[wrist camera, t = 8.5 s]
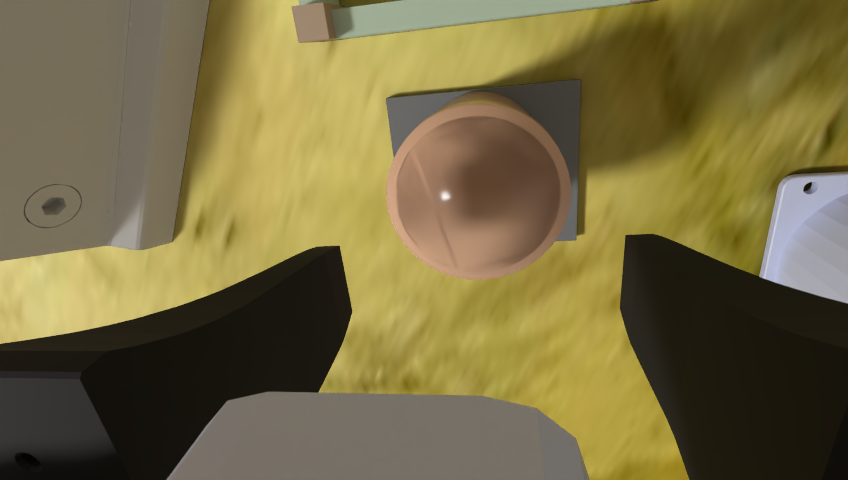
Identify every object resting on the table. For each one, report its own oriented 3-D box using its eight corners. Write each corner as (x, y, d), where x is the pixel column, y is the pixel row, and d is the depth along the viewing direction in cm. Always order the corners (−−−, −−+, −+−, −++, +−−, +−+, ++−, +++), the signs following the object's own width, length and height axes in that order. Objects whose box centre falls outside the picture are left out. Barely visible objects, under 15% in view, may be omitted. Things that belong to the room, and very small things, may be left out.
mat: (579, 79, 18) (581, 79, 18) (574, 236, 21) (576, 240, 21) (387, 97, 20) (386, 98, 19) (407, 243, 23) (405, 246, 22)
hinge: (171, 248, 25) (-90, 323, 16) (116, 205, 26) (-152, 254, 17) (226, -106, 18) (-191, -312, 9) (146, -140, 19) (-283, -348, 10)
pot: (549, 77, 18) (574, 96, 13) (547, 212, 20) (567, 277, 15) (407, 90, 19) (374, 113, 14) (421, 218, 21) (397, 281, 16)
